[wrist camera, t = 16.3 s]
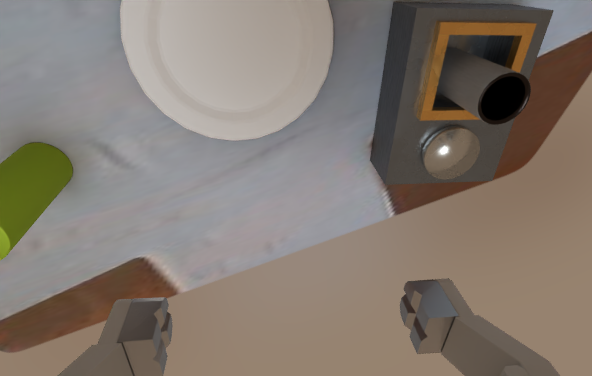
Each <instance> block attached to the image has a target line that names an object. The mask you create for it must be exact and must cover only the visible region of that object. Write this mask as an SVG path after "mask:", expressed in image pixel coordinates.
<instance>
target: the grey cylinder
mask: <svg viewBox="0 0 592 376" xmlns="http://www.w3.org/2000/svg"><path fill="white" fill-rule="evenodd" d="M437 91H438V92H439V93H441V94H442V95H444V96H445V97H447V98H449V99H450V100H452V101H453V102H455V103H456V104H458V105H459V106H461V107H462V108H464V109H465V110H467V111H468V112H470V113H471V114H473V115H474V116H476V117H477V118H479V119H480V120H482V121H483V122H485V123H487V124H491V125H499V124H503V123H506V122H508V121H510V120H512V119H514V118H515V117H516V116H517V115H518V114H520V113H521V111H522V110H523V109H524V108H525V106H526V104H527V102H528V100H529V97H530V92H531V87H530V83H529V81H528V79H527V78H526V76H524V75H523V74H521V73H519V72H516V71H514V70H511V69H509V68H506V67H504V66H501V65H498V64H496V63H493V62H491V61H488V60H486V59H483V58H481V57H478V56H476V55H473V54H470V53H468V52H465V51H463V50H460V49H456V48H449V49H446V52H445V56H444V60H443V65H442V69H441V73H440V78H439V82H438V86H437Z"/></svg>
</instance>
